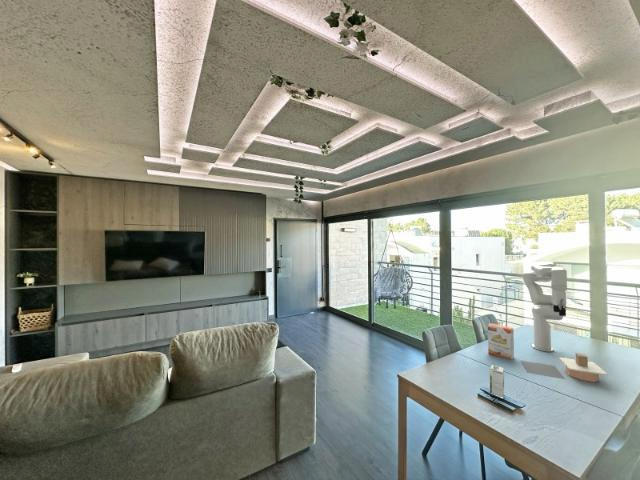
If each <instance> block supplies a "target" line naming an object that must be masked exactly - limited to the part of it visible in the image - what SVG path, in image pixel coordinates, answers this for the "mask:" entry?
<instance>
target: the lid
mask: <svg viewBox="0 0 640 480" xmlns="http://www.w3.org/2000/svg"><path fill="white" fill-rule="evenodd" d="M588 358H589V357H588V356H587V355H586V354H584V353H578V352H575V358H568V357H560V356H559V357H558V359H559V360H560V361H561V363H562V364H564V366H565V367H566V366H567V368H568V369H569V370H575V371H581V372H587V373H594V374H599V376H607V377H608V375H609V374H608V373H607V372H606V371H605V370H603V369H602V368H601V367H600V366H599V365H597V364H596V362H594V361H589V359H588Z"/></svg>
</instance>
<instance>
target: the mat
mask: <svg viewBox="0 0 640 480" xmlns="http://www.w3.org/2000/svg"><path fill="white" fill-rule="evenodd" d="M519 362H520V363H521V366H522V367H523V368H524V370H525V372H526V373H527V374H531V375H532V374H534V375H540V376H544V377H550V378H556V379H561V380H566V378H565V377H564V375H563V374H562V373H561V372H560V371H559V369H558V368H557V367H556V366H555V365H551V364H546V363H539V362H535V361H534V362H532V361H527V360H521V359H520V360H519Z"/></svg>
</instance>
